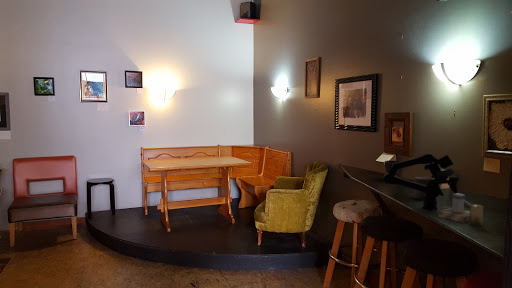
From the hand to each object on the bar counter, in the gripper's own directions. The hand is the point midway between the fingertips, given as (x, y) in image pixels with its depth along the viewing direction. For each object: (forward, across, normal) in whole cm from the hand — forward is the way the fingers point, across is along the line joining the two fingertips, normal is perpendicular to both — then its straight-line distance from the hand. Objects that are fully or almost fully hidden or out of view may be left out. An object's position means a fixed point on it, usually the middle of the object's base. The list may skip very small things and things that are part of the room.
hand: (450, 195), depth 220 cm
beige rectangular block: (+21, 0, -5) cm, 22 cm away
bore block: (+12, 0, +4) cm, 13 cm away
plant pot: (-54, +24, +71) cm, 92 cm away
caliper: (0, +23, +19) cm, 30 cm away
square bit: (+12, 0, +4) cm, 13 cm away
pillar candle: (-18, +10, +34) cm, 40 cm away
